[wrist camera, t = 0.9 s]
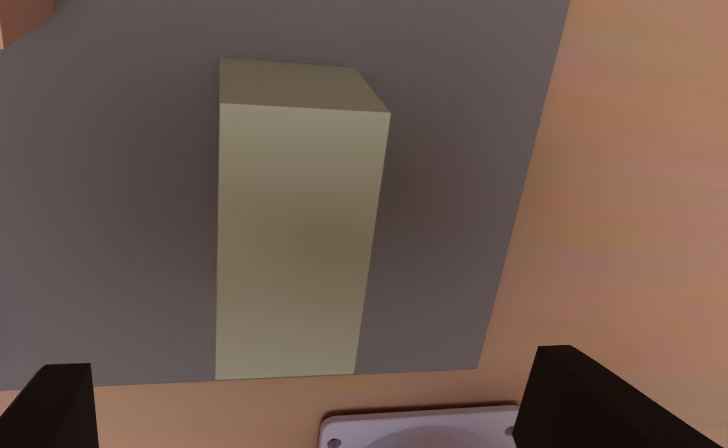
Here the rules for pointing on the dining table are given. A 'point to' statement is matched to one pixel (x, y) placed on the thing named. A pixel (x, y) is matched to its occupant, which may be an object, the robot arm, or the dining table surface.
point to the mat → (200, 173)
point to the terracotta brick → (22, 18)
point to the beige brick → (294, 216)
